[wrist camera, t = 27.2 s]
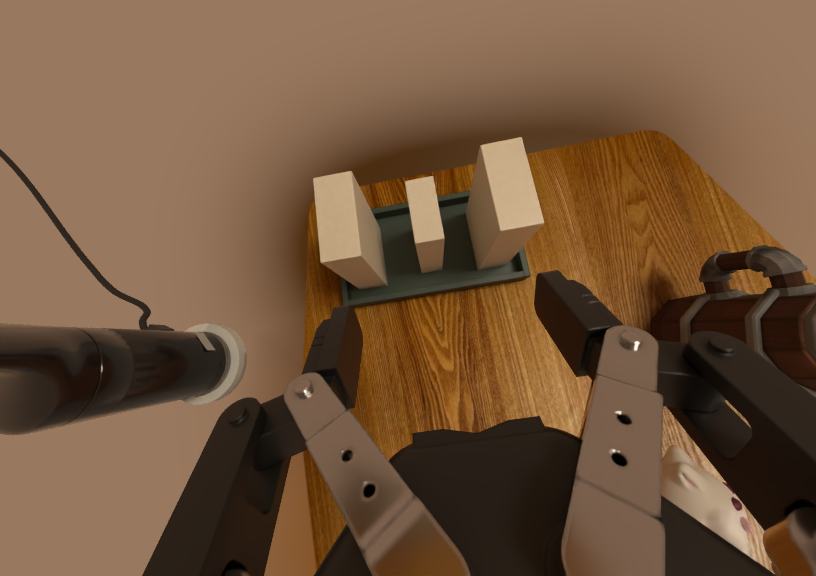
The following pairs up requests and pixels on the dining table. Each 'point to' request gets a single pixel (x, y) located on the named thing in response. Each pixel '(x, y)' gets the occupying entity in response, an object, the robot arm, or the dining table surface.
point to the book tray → (405, 263)
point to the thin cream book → (426, 223)
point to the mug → (752, 311)
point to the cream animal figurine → (705, 498)
